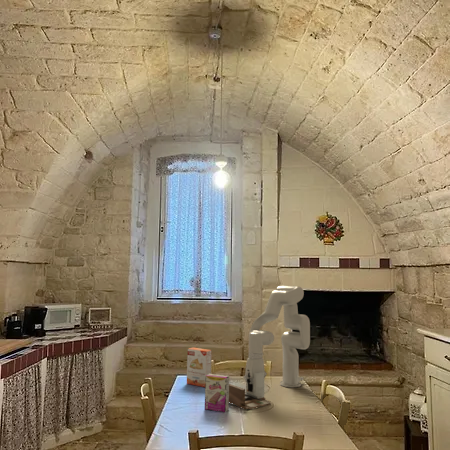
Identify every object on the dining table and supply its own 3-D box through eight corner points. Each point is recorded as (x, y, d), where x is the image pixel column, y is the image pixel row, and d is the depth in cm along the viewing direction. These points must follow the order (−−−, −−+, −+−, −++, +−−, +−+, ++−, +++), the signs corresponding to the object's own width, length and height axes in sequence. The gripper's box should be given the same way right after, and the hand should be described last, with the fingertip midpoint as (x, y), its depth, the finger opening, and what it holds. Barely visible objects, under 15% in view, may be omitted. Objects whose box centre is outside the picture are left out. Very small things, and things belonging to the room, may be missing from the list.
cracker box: (186, 384, 259) (187, 348, 262) (192, 382, 265) (193, 346, 267) (205, 387, 252) (206, 351, 254) (211, 385, 257) (212, 349, 259)
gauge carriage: (244, 396, 233) (244, 392, 234) (264, 403, 221) (264, 399, 221) (233, 398, 229) (233, 394, 229) (253, 406, 217) (253, 401, 217)
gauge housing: (247, 396, 237) (247, 379, 238) (270, 404, 223) (270, 386, 224) (224, 401, 227) (224, 383, 228) (247, 410, 213) (247, 391, 214)
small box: (264, 397, 230) (264, 372, 232) (255, 400, 226) (256, 374, 228) (254, 394, 237) (254, 369, 238) (245, 396, 233) (245, 371, 234)
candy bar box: (204, 409, 212) (204, 375, 214) (207, 407, 217) (208, 373, 219) (225, 412, 209) (226, 377, 210) (229, 409, 213) (229, 375, 215)
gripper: (262, 352, 242) (262, 386, 240) (238, 356, 231) (238, 391, 229) (272, 355, 236) (271, 389, 234) (247, 358, 225) (247, 394, 223)
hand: (255, 389), depth 232 cm, fingers closed on small box, 6 cm apart
